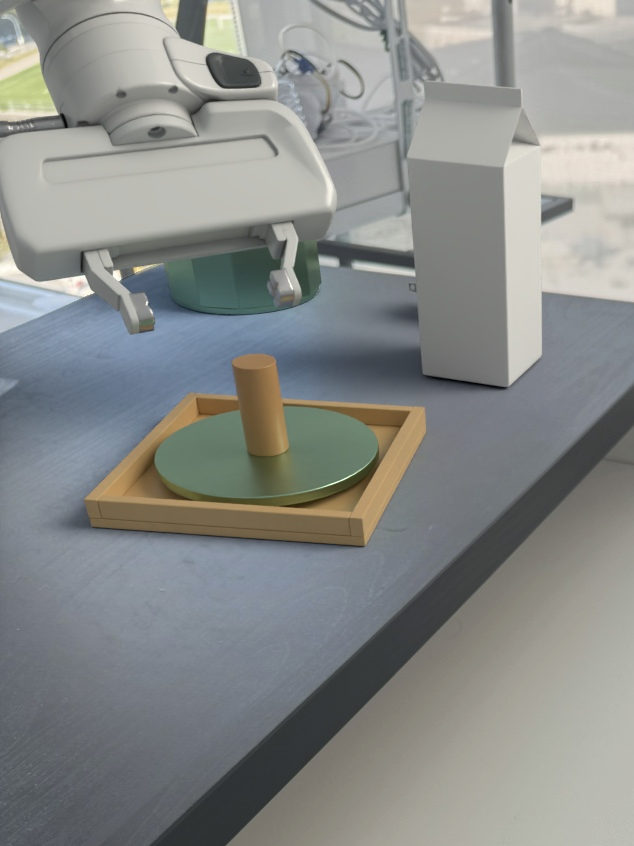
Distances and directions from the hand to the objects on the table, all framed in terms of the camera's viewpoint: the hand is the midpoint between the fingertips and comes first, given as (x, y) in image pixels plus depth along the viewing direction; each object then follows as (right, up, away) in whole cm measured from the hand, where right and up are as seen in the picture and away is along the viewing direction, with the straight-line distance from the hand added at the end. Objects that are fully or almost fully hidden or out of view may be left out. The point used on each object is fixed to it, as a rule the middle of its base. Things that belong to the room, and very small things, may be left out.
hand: (218, 315), depth 73 cm
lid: (+3, -9, +1) cm, 9 cm away
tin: (-7, +15, +31) cm, 35 cm away
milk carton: (+15, +3, +18) cm, 23 cm away
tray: (+3, -9, +2) cm, 10 cm away
